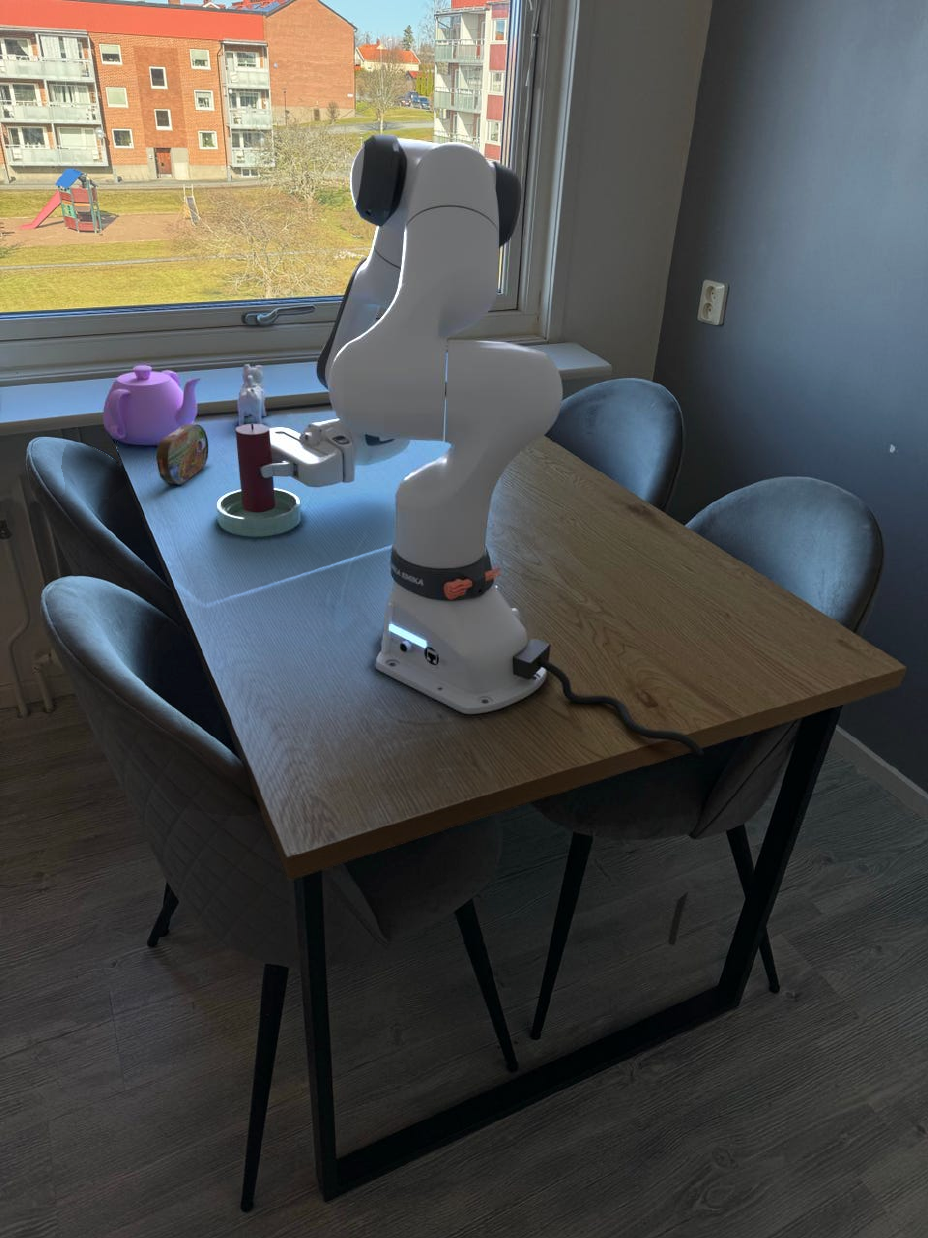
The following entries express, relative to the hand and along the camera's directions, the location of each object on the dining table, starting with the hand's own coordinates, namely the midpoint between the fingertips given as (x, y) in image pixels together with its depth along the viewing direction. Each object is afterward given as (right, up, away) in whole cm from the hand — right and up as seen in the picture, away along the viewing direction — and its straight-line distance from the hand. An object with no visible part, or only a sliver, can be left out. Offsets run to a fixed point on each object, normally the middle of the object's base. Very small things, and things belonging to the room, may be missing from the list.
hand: (250, 465), depth 139 cm
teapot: (-27, +12, +37) cm, 48 cm away
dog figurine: (-12, +19, +50) cm, 55 cm away
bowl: (0, -8, +6) cm, 10 cm away
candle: (0, -6, +4) cm, 7 cm away
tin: (-17, +2, +21) cm, 27 cm away
